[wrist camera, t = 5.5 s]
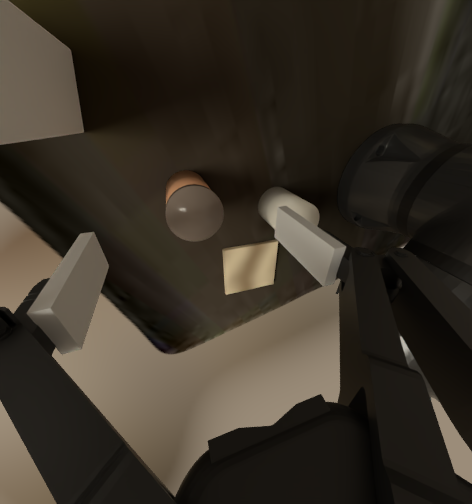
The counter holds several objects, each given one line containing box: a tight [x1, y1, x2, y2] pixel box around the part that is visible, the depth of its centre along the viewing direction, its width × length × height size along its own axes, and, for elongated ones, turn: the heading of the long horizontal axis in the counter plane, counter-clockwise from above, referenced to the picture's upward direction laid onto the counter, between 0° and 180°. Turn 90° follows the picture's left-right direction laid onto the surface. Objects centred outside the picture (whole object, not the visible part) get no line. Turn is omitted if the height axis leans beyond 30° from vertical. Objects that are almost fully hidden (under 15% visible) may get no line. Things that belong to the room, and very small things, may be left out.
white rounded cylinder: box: [258, 187, 319, 229], centre depth 27 cm, size 5×5×7 cm
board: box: [223, 240, 278, 295], centre depth 34 cm, size 9×9×1 cm
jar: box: [165, 170, 224, 241], centre depth 22 cm, size 5×5×8 cm
